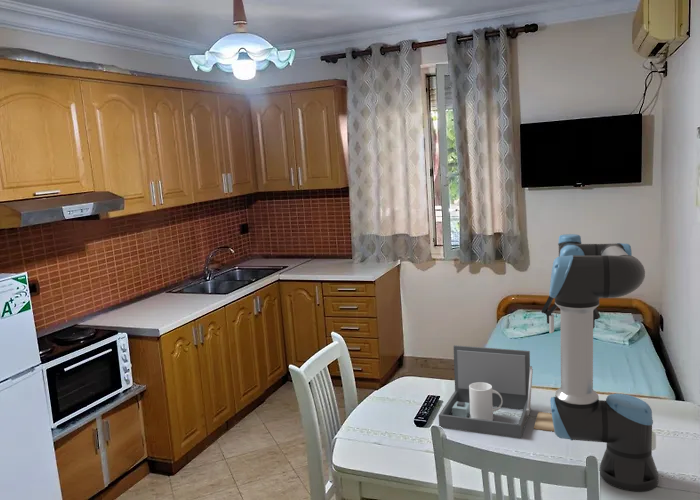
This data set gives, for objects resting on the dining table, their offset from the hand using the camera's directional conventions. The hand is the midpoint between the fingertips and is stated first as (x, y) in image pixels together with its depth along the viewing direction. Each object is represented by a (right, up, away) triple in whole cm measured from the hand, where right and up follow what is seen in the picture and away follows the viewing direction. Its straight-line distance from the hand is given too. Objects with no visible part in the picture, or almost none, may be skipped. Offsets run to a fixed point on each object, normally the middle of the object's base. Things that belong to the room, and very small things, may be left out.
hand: (570, 334), depth 211 cm
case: (-31, -30, -1) cm, 43 cm away
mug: (-31, -30, -1) cm, 43 cm away
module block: (-39, -30, +2) cm, 49 cm away
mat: (-8, -30, -9) cm, 32 cm away
